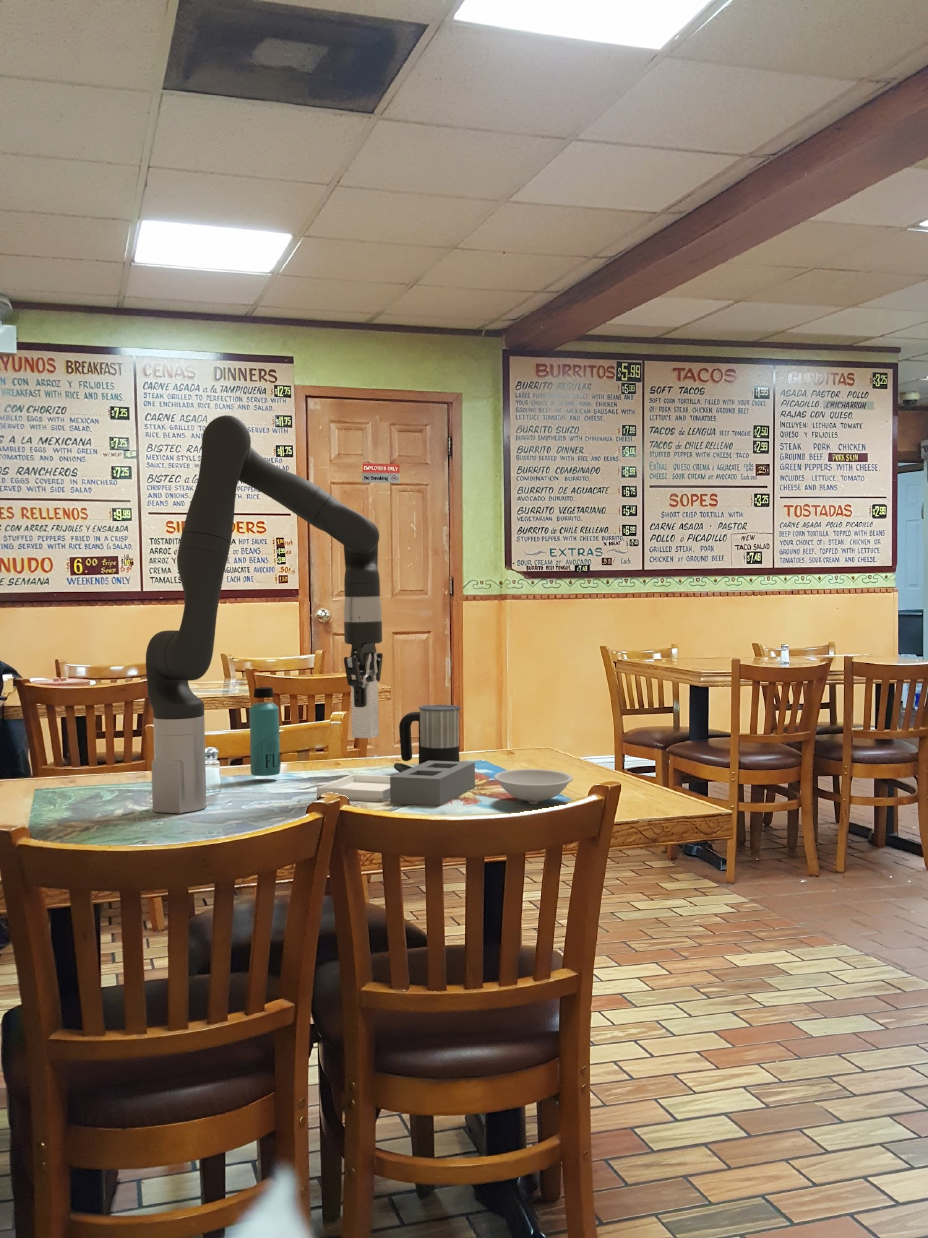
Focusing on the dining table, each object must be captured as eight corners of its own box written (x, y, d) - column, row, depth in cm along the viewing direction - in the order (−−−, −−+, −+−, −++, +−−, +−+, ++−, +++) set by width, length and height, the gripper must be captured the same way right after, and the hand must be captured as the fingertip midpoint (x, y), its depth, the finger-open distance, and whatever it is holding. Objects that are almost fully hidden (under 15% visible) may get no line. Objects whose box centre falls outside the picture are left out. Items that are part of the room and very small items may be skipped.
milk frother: (462, 770, 239) (461, 703, 238) (460, 783, 223) (459, 711, 223) (398, 771, 239) (397, 704, 239) (392, 783, 223) (390, 712, 223)
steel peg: (370, 738, 211) (369, 682, 211) (352, 737, 212) (350, 682, 212) (378, 735, 215) (377, 680, 214) (360, 734, 216) (359, 680, 216)
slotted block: (440, 806, 199) (439, 779, 199) (390, 803, 202) (390, 776, 202) (475, 787, 218) (474, 762, 217) (429, 784, 221) (428, 760, 221)
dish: (484, 797, 207) (484, 771, 207) (556, 792, 210) (555, 767, 210) (508, 815, 190) (508, 787, 190) (585, 810, 193) (585, 782, 193)
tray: (382, 801, 204) (382, 791, 204) (316, 798, 208) (316, 787, 208) (414, 786, 219) (414, 777, 219) (352, 783, 223) (352, 774, 223)
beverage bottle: (264, 784, 225) (262, 689, 224) (243, 781, 229) (241, 687, 228) (287, 779, 230) (285, 686, 229) (266, 776, 234) (264, 685, 233)
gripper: (365, 620, 205) (367, 710, 205) (394, 618, 218) (396, 702, 219) (329, 621, 207) (332, 709, 208) (360, 618, 221) (362, 701, 221)
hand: (364, 705), depth 213 cm, fingers closed on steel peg, 4 cm apart
